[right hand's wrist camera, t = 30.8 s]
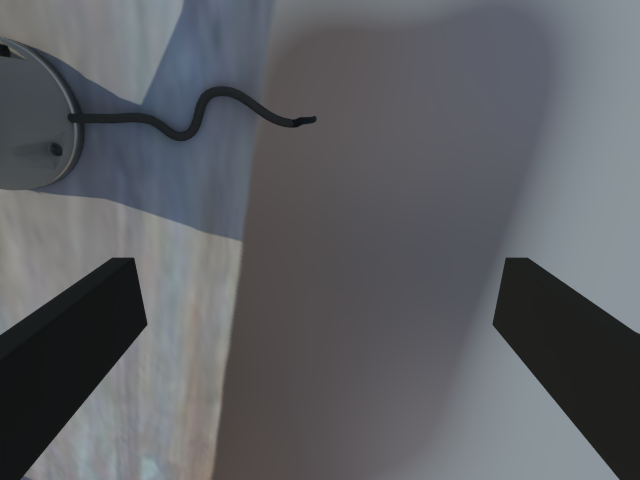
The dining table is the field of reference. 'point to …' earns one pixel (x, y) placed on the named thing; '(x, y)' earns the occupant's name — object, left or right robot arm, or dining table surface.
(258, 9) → the dining table surface
